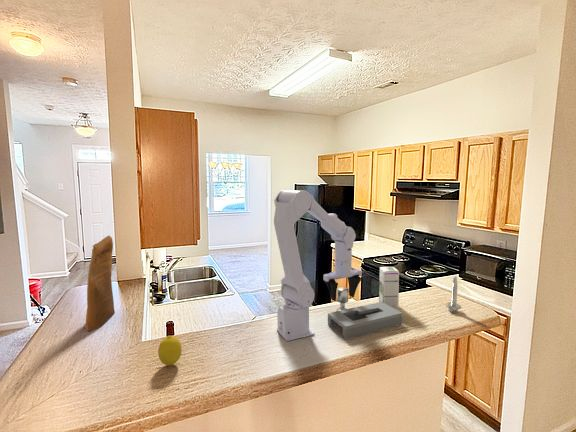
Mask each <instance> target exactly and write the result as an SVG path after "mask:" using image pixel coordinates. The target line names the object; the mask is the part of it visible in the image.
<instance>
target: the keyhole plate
mask: <svg viewBox="0 0 576 432" xmlns="http://www.w3.org/2000/svg"><path fill="white" fill-rule="evenodd" d="M403 314H404V312H401V311H400V310H399V309H398V310H396V309H394V308H392V307H390V306H389V305H387V304H385V303H383V302H379V301H378V302H374V303H369V304H365V305H359V306H356V307H349V308H347V309H345V310H340V311H337V310H336V311H331V312H328V313H327V326H328V327H330V328H332V327H335V326H340V327H342V338H344V339H345V340H347V339H352V338H355V337H360V336H364V335H368V334H371V333H376V332H379V331H383V330H386V329H391V328H394V327H397V326H398V327H399V326H402V325H403Z"/></svg>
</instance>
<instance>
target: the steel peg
mask: <svg viewBox="0 0 576 432" xmlns="http://www.w3.org/2000/svg"><path fill="white" fill-rule="evenodd" d="M336 302H337V303H339V307H337V308H336V311H340V310H345V309H348V308H346V305H345V304H347V303H348V302H349V287H348V288H347V287H343V286H342V287H337V291H336Z"/></svg>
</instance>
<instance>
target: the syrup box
mask: <svg viewBox="0 0 576 432" xmlns="http://www.w3.org/2000/svg"><path fill="white" fill-rule="evenodd" d="M399 282H400V271H399V270H398V269H397V268H396V267H395V266H380V267H379V284H378V285H379V290H378V292H379V293H378V294H379V295H378V297H379V298H378V302H383V303H385V304H387V305H389V306H390V307H392V308H394V309H396V310H398V311H399V302H400V301H399V298H400V297H399V296H400V295H399V294H400V292H399V291H400V287H399V286H400V283H399Z"/></svg>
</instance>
